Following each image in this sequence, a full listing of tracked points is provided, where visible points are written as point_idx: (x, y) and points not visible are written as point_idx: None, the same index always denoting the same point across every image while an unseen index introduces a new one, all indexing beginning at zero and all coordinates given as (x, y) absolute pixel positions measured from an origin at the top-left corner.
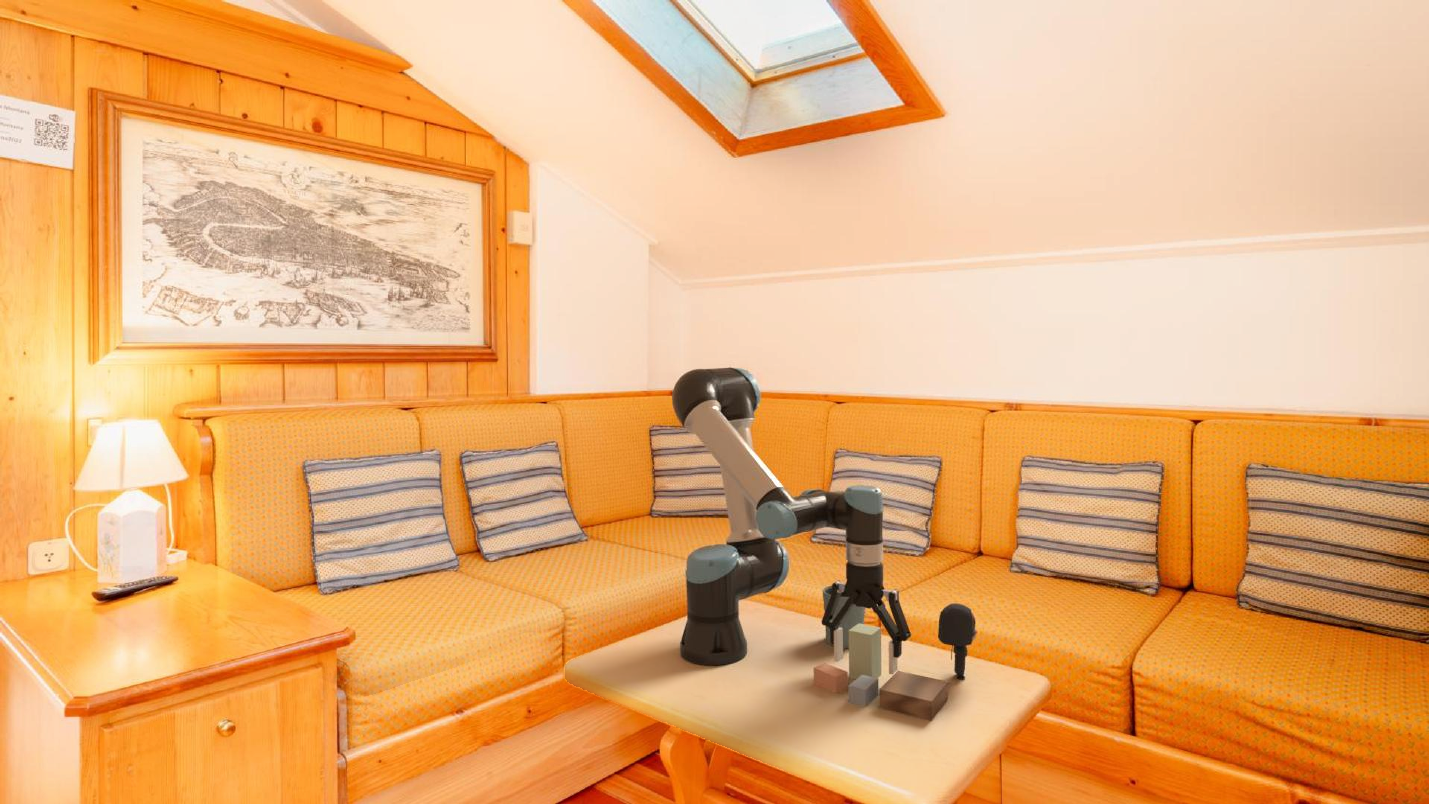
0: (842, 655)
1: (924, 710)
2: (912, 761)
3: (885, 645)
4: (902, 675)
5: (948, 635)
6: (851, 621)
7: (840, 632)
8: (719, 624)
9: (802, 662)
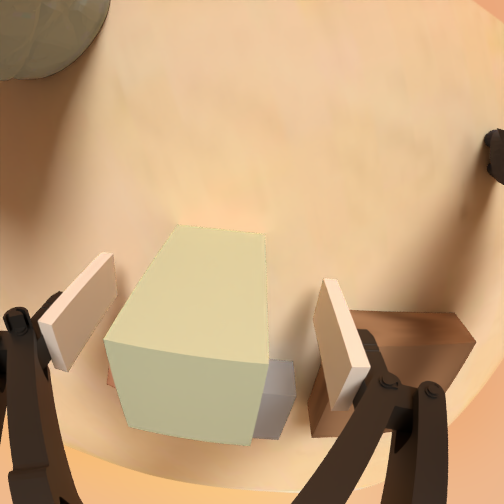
0: (108, 261)
1: None
2: (368, 467)
3: None
4: None
5: None
6: (19, 40)
7: (65, 337)
8: None
9: (28, 247)
